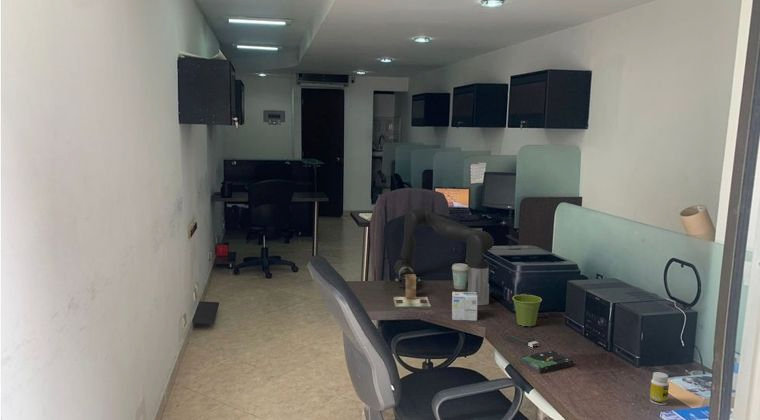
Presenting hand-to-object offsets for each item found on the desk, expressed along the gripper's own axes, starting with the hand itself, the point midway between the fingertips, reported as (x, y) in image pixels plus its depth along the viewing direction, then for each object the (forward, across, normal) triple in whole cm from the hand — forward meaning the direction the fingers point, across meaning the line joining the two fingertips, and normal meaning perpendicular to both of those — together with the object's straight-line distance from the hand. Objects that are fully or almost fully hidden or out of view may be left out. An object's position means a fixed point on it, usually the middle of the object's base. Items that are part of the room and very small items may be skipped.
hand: (409, 284), depth 277 cm
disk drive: (+82, +40, +6) cm, 92 cm away
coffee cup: (-16, +27, +6) cm, 32 cm away
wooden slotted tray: (+13, 0, +6) cm, 14 cm away
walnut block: (+8, 0, +5) cm, 9 cm away
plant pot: (+41, +45, +6) cm, 61 cm away
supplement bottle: (+110, +65, +6) cm, 128 cm away
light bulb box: (+32, +21, +6) cm, 39 cm away
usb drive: (+61, +38, +6) cm, 73 cm away
